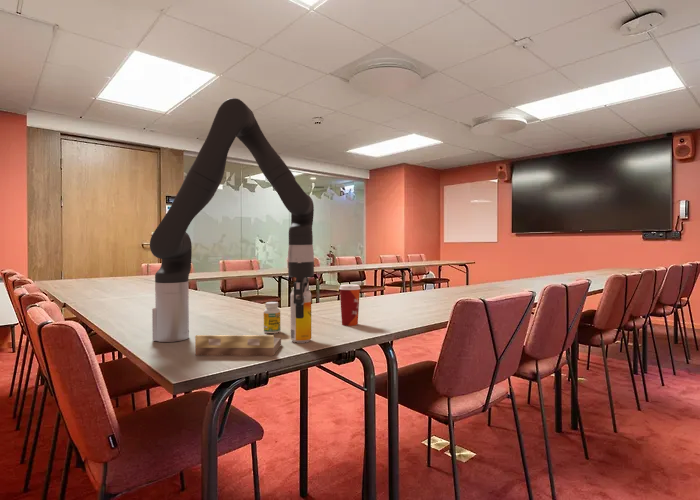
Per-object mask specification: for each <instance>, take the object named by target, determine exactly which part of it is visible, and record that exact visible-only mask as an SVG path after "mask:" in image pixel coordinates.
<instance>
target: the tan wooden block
mask: <svg viewBox="0 0 700 500" xmlns="http://www.w3.org/2000/svg"><path fill="white" fill-rule="evenodd" d="M274 335H275V334H272V335H271V334H268V335H267V334H266V335H265V334H263V335H261V334H259V335H258V334H257V335H253V334H252V335H251V334H248V335H247V334H245V335H243V334H237V335H235V334H233V335H232V334H228V335H227V334H225V335H224V334H221V335H220V334H197V335H195V336H194V339H195V342H194V343H195V350H194V351H195V354H194V355H195V356H221V357H222V356H229V357H230V356H233V357H234V356H238V357H239V356H244V357H245V356H247V357H248V356H249V357H250V356H259V357H260V356H264V357H265V356H267V357H268V356H270V357H272V356H274V355H275V354H276V353H277V352H278V350H279V349H278V348H280V347H281V346H280V345H282V337H275V336H274ZM275 352H276V353H275Z"/></svg>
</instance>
